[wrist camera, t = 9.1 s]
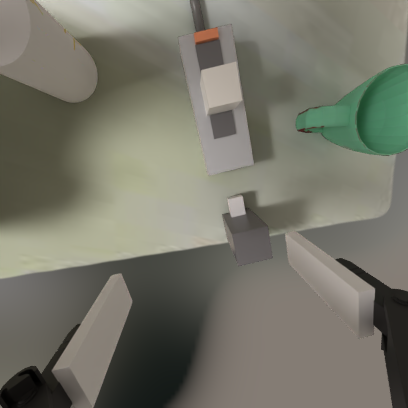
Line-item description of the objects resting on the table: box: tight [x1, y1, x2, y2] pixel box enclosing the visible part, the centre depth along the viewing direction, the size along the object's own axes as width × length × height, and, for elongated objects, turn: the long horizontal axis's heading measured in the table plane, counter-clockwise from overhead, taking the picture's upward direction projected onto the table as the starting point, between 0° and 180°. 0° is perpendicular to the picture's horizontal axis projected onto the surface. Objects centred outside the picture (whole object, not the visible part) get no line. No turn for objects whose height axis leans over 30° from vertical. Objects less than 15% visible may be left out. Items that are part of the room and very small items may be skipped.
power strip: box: [178, 0, 254, 175], centre depth 27 cm, size 7×29×5 cm, turn 13°
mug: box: [296, 64, 408, 156], centre depth 27 cm, size 15×10×10 cm
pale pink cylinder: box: [0, 0, 98, 103], centre depth 22 cm, size 8×8×12 cm
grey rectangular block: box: [222, 194, 273, 266], centre depth 30 cm, size 5×8×9 cm, turn 13°
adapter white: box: [200, 62, 242, 116], centre depth 24 cm, size 4×4×4 cm
